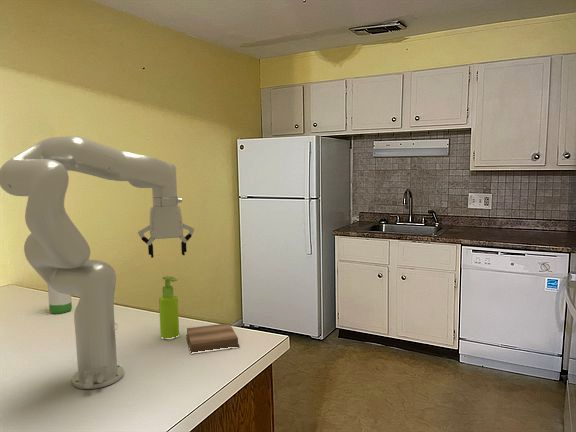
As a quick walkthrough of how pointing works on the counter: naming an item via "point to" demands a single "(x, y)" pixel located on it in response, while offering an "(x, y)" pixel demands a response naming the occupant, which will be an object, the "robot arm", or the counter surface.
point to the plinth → (211, 337)
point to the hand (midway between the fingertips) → (167, 255)
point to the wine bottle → (59, 301)
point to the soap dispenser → (168, 310)
